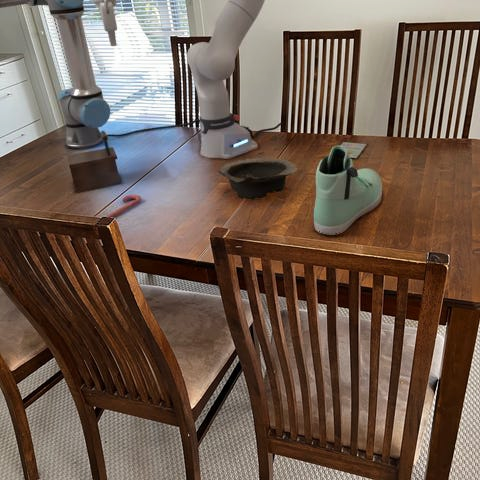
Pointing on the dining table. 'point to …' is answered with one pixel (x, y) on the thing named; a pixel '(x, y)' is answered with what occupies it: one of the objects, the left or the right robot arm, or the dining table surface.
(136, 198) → the candy cane
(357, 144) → the baking ingredient package
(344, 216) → the sneaker
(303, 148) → the dining table surface
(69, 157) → the lid
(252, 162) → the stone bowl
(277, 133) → the dining table surface
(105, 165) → the chest
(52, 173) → the dining table surface
